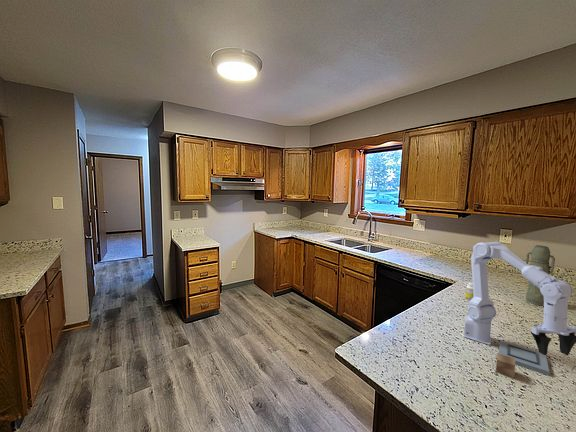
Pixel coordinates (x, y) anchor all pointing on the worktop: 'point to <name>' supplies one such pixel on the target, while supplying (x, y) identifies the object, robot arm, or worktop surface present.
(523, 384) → the worktop surface
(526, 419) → the worktop surface
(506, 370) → the walnut block
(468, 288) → the supplement bottle
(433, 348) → the worktop surface
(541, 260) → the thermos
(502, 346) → the slate base plate
